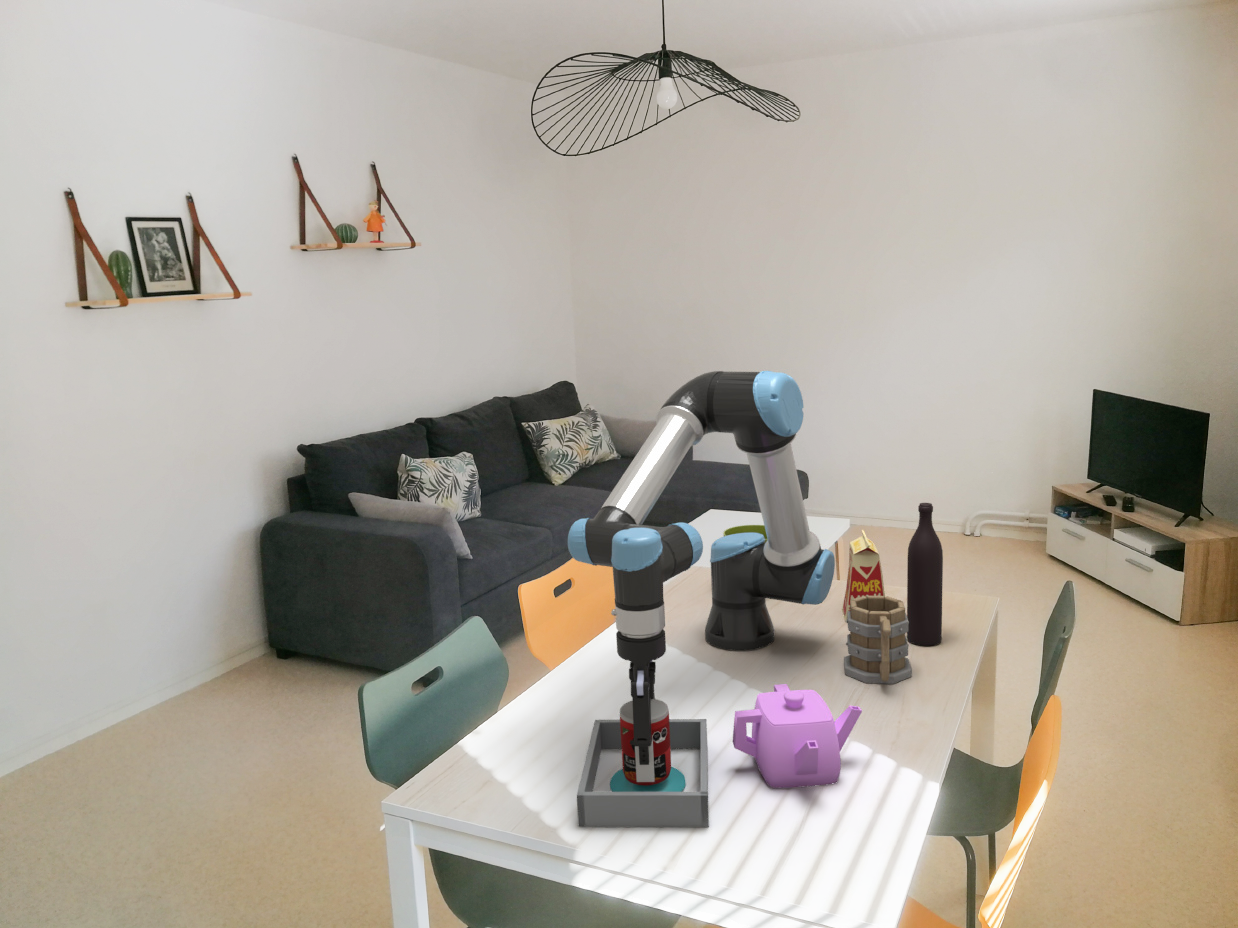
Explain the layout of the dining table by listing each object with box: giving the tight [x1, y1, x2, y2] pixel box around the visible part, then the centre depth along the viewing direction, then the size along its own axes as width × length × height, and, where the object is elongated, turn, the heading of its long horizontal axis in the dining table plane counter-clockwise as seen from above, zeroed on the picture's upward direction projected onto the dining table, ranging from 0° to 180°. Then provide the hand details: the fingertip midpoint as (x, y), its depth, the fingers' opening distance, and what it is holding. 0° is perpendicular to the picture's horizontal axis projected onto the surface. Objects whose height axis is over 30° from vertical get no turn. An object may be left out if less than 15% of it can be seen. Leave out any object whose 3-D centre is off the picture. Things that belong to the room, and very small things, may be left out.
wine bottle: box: [906, 502, 944, 647], centre depth 196 cm, size 7×7×30 cm
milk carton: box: [841, 529, 886, 623], centre depth 213 cm, size 9×9×20 cm
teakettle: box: [732, 683, 863, 789], centre depth 149 cm, size 17×17×12 cm
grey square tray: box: [576, 718, 710, 828], centre depth 147 cm, size 24×19×5 cm
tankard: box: [843, 595, 913, 685], centre depth 180 cm, size 20×13×15 cm, turn 169°
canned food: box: [619, 698, 672, 786], centre depth 146 cm, size 8×8×11 cm
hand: (647, 766), depth 147 cm, fingers closed on canned food, 8 cm apart
